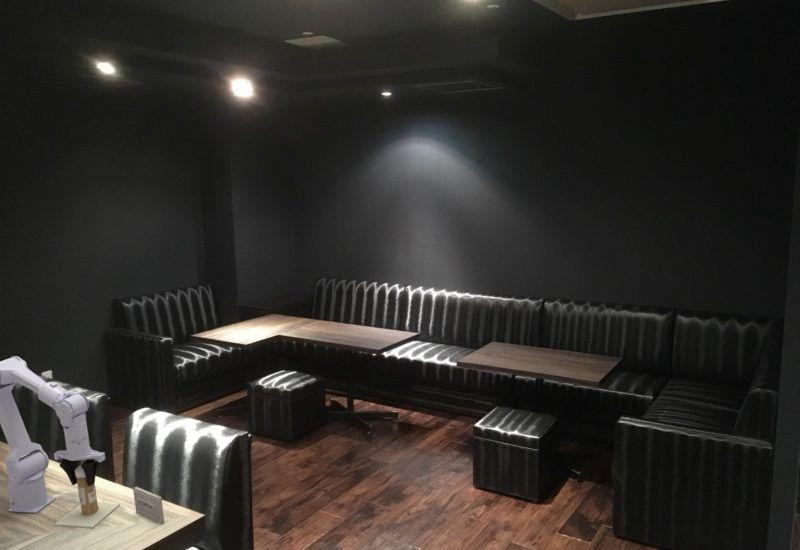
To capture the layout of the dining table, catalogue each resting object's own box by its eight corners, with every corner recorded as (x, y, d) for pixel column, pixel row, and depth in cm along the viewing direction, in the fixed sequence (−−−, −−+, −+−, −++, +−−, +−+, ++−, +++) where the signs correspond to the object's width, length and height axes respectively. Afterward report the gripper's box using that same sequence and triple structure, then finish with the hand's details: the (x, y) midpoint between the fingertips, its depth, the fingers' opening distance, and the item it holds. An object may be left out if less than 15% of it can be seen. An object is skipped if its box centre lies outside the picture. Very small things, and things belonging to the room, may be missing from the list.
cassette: (134, 513, 185) (131, 488, 183) (140, 510, 186) (137, 485, 185) (160, 525, 178) (157, 499, 177) (166, 522, 179) (163, 496, 178)
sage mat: (54, 525, 180) (54, 524, 180) (83, 503, 192) (83, 501, 192) (93, 528, 178) (92, 526, 178) (120, 505, 189) (119, 503, 189)
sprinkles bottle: (99, 512, 185) (93, 468, 182) (82, 517, 183) (75, 473, 180) (97, 505, 189) (91, 462, 186) (80, 510, 187) (73, 466, 184)
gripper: (109, 433, 183) (115, 478, 185) (63, 431, 186) (70, 475, 188) (93, 443, 176) (99, 490, 179) (46, 441, 179) (53, 487, 182)
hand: (83, 483), depth 183 cm, fingers closed on sprinkles bottle, 4 cm apart
